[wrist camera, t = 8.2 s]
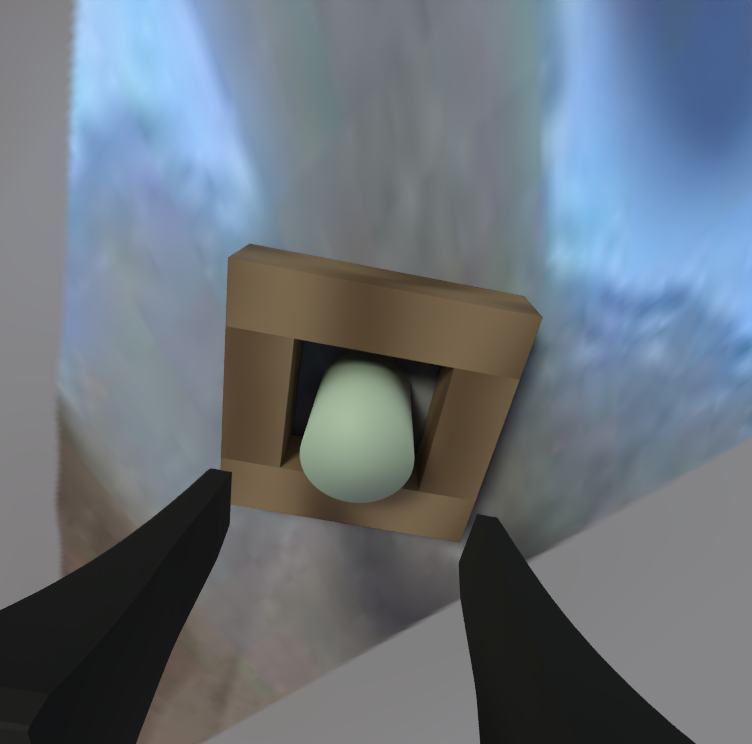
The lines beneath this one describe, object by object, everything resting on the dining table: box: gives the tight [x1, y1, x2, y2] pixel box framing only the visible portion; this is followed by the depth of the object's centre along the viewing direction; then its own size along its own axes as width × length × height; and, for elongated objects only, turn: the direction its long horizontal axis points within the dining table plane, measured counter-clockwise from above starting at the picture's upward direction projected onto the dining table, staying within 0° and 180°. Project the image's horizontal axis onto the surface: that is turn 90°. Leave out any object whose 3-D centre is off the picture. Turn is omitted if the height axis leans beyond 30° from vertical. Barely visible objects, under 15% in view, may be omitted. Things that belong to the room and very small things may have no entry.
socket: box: [221, 244, 543, 542], centre depth 19 cm, size 11×11×2 cm
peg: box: [300, 350, 414, 503], centre depth 18 cm, size 4×4×5 cm
